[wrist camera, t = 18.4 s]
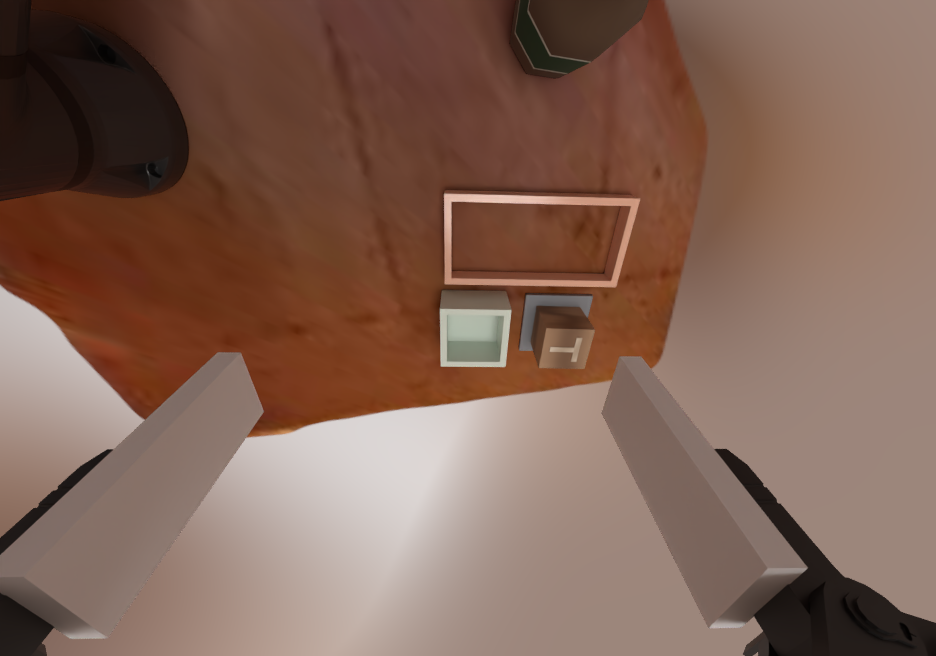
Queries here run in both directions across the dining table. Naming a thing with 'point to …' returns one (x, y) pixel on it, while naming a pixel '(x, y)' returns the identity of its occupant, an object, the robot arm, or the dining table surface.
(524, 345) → the slate coaster
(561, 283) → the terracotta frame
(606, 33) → the beer bottle
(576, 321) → the letter cube
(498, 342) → the mint green open box
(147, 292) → the dining table surface
